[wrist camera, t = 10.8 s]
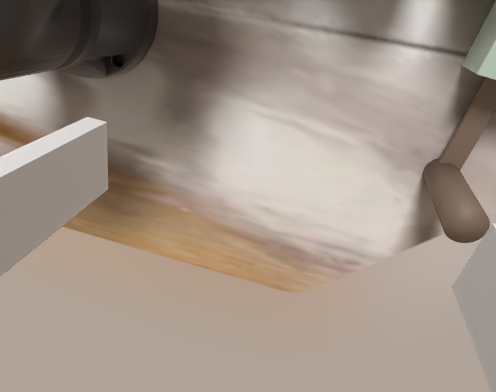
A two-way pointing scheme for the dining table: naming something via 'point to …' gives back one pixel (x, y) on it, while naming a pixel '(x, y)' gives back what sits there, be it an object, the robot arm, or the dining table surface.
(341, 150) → the dining table surface
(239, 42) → the dining table surface
